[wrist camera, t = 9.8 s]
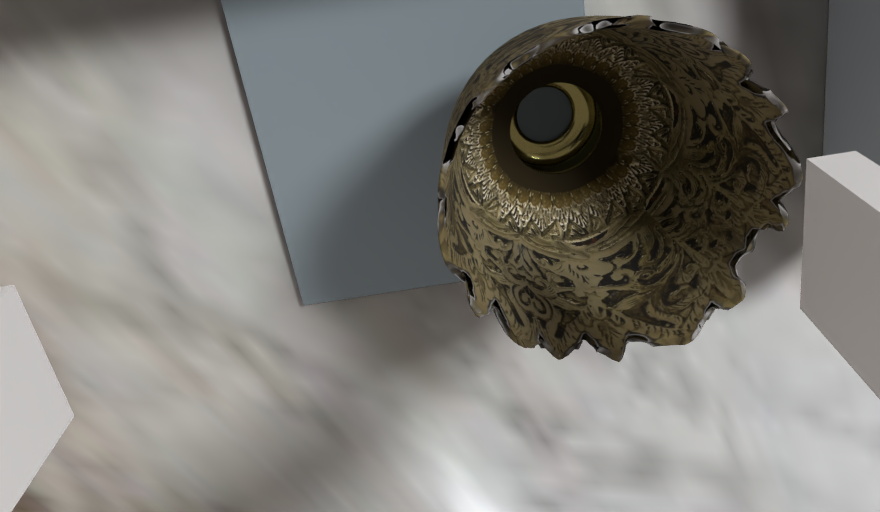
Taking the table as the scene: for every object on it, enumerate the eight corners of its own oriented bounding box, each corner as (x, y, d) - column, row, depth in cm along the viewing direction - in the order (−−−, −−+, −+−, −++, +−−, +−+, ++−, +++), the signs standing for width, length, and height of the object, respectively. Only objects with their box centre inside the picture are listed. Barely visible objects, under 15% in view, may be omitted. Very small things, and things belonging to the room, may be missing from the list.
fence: (10, -97, 21) (-108, -96, 16) (888, -263, 20) (1025, -311, 15) (157, 309, 26) (99, 395, 22) (858, 201, 25) (954, 268, 20)
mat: (222, -10, 22) (218, -8, 22) (575, -72, 21) (577, -72, 21) (305, 299, 26) (303, 305, 26) (602, 254, 25) (605, 259, 25)
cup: (584, 265, 25) (668, 412, 18) (377, 172, 23) (377, 291, 16) (715, 55, 23) (876, 125, 15) (495, -69, 21) (558, -56, 14)
